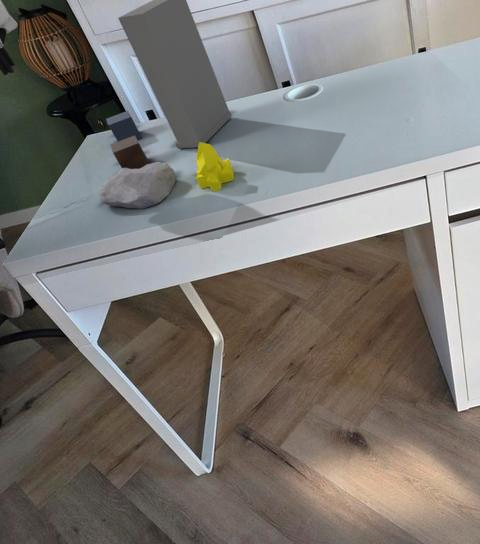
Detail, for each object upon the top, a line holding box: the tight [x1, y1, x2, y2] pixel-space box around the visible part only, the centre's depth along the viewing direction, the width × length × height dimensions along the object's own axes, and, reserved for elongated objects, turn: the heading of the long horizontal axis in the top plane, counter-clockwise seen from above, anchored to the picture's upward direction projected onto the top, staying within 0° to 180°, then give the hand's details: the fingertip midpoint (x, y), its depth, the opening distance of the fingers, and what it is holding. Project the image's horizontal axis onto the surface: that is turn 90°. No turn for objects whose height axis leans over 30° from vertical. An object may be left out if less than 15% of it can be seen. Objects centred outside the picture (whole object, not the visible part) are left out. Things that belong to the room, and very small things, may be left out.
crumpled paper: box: [195, 142, 235, 193], centre depth 84 cm, size 6×8×8 cm
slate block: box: [105, 110, 143, 142], centre depth 109 cm, size 5×5×5 cm
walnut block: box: [109, 136, 151, 169], centre depth 96 cm, size 5×5×5 cm
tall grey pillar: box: [117, 0, 233, 150], centre depth 96 cm, size 14×6×25 cm, turn 165°
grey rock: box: [98, 161, 178, 210], centre depth 86 cm, size 12×5×10 cm
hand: (9, 72), depth 87 cm, fingers closed
